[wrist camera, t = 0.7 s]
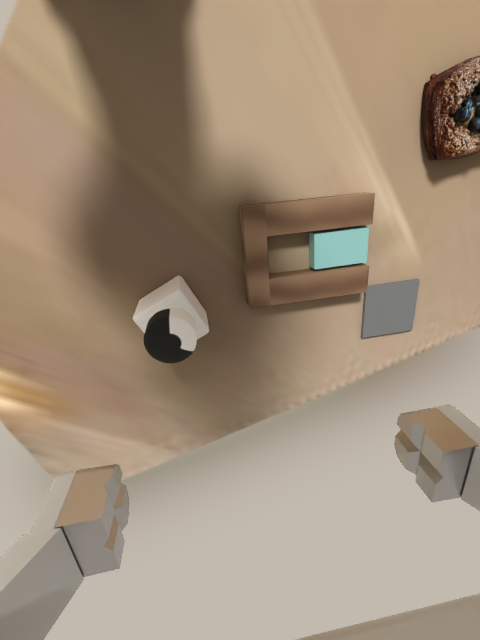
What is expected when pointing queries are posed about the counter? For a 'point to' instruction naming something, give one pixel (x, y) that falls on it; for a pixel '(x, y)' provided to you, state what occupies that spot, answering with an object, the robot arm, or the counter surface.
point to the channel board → (298, 219)
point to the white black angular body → (171, 321)
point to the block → (338, 247)
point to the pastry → (453, 111)
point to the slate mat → (389, 308)
